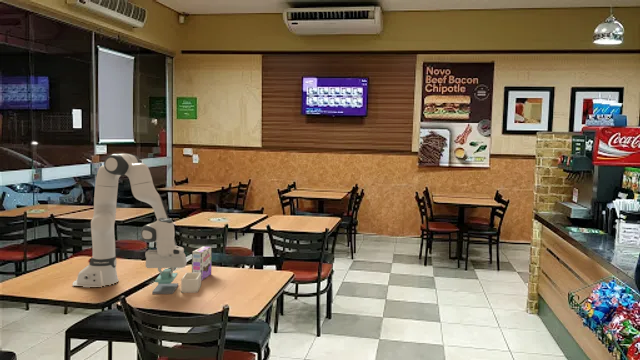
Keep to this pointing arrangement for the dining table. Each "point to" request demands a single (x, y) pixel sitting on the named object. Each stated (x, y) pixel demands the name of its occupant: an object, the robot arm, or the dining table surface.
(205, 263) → the candy box
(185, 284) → the tub
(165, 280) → the lid
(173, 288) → the mat
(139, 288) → the dining table surface
